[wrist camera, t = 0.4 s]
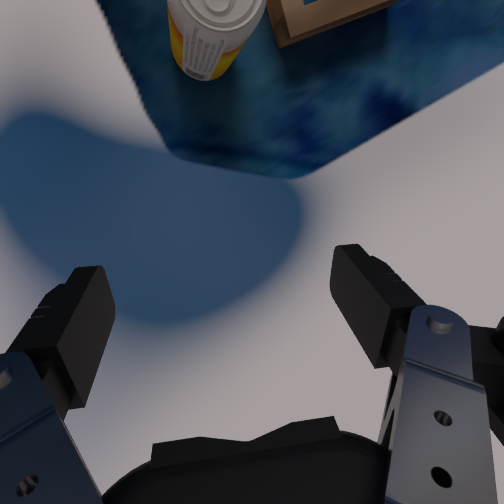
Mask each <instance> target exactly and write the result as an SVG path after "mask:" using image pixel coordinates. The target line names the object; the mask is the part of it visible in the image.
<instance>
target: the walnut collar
mask: <svg viewBox="0 0 504 504" xmlns="http://www.w3.org/2000/svg"><path fill="white" fill-rule="evenodd" d="M396 1H398V0H318V1H315V2H312V3H310V4H307V5H304V3H303V0H267V1H266V7H267V11H268V15H269V18H270V22H271V25H272V29H273V33H274V36H275V40H276V43H277V47H278V49H280V48H283V47H286V46H288V45H291V44H293V43H296V42H299V41H301V40H304V39H306V38H309V37H311V36H314V35H317V34H319V33H322V32H324V31H327V30H330V29H332V28H335V27H337V26H340V25H342V24H345V23H348V22H350V21H353V20H355V19H358V18H361V17H363V16H366V15H368V14H371V13H373V12H376V11H379V10H381V9H384V8H386V7H389V6H390V5H392V4H393V3H395V2H396Z"/></svg>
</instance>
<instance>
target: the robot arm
mask: <svg viewBox="0 0 504 504" xmlns="http://www.w3.org/2000/svg"><path fill="white" fill-rule="evenodd" d="M330 291H331V295H332V297H333V299H334V301H335V303H336V304H337V306H338V308H339V309H340V311H341V313H342V314H343V316H344V318H345V319H346V321H347V323H348V324H349V326H350V328H351V329H352V331H353V333H354V335H355V336H356V338H357V339H358V341H359V343H360V345H361V346H362V348H363V350H364V351H365V353H366V355H367V356H368V358H369V360H370V361H371V363H372V365H373V366H374V368H375V369H376V368H382V367H383V368H384V367H390V369H391V370H392V376H391V379H390V384H389V389H388V394H387V399H386V404H385V409H384V414H383V419H382V424H381V429H380V434H379V437H378V441H377V442H374V441H372V440H370V439H368V438H366V437H363V436H361V435H357V434H354V433H350V432H346V431H340V430H339V428H338V426H337V423H336V421H335V418H334V416H330V417H324V418H317V419H311V420H304V421H298V422H291V423H289V424H287V425H285V426H283V427H280V428H278V429H276V430H274V431H271V432H270V433H267V434H265V435H263V436H260V437H258V438H256V439H254V440H251V441H235V440H226V439H217V438H207V437H194V438H188V439H181V440H175V441H168V442H162V443H155V444H153V446H152V454H151V460H150V461H148V462H146V463H144V464H142V465H140V466H139V467H137V468H135V469H133V470H132V471H130V472H129V473H127V474H126V475H125V476H123V477H122V478H121V479H119V480H118V481H117V482H116V483H115V484H114V485H113V486H111V487H110V488H109V489H108V490H107V491H106V492H105V493H104V494H103V495H101V493H100V491H99V489H98V487H97V485H96V484H95V481H94V480H93V478H92V476H91V474H90V472H89V470H88V468H87V466H86V464H85V462H84V460H83V458H82V456H81V454H80V453H79V450H78V448H77V446H76V445H75V443H74V441H73V439H72V437H71V435H70V433H69V431H68V429H67V427H66V425H65V423H64V419H65V416H66V414H67V411H68V410H69V409H76V408H84V407H85V405H86V402H87V399H88V396H89V393H90V390H91V387H92V384H93V382H94V379H95V376H96V373H97V370H98V367H99V364H100V361H101V358H102V355H103V352H104V349H105V346H106V344H107V341H108V338H109V335H110V332H111V329H112V326H113V323H114V320H115V304H114V300H113V297H112V293H111V290H110V287H109V283H108V280H107V277H106V273H105V270H104V268H103V267H102V266H101V265H99V266H88V267H77V268H75V269H74V271H73V272H72V274H71V275H70V277H69V278H68V280H67V282H66V283H65V284H59V285H58V286H56V287H55V288H54V289H52V290H51V291H50V292H48V293H47V294H46V295H45V296H44V298H43V299H42V301H41V302H40V304H39V305H38V308H37V309H35V311H34V312H33V314H32V315H31V318H30V319H28V321H27V322H26V324H25V325H24V327H23V328H22V329H21V331H20V332H19V334H18V335H17V337H16V338H15V340H14V341H13V343H12V344H11V345H10V347H9V348H8V350H7V351H6V353H3V354H0V504H498V501H497V492H496V483H495V473H494V464H493V454H492V445H491V435H490V429H491V430H492V431H493V433H494V434H495V435H496V437H497V438H498V439H499V441H500V442H501V443H502V445H503V446H504V317H502V319H501V320H500V322H499V324H498V326H497V328H488V327H479V326H471V325H468V324H467V323H466V321H465V320H464V319H463V318H462V317H460V316H459V315H458V314H456V313H455V312H453V311H451V310H448V309H446V308H443V307H440V306H435V305H427V304H426V303H425V302H424V301H423V300H422V299H421V298H420V297H419V296H418V295H417V294H416V293H415V292H414V291H413V290H412V289H411V288H410V287H409V286H408V285H407V284H406V283H405V282H404V281H402V279H401V278H400V277H399V276H398V275H397V274H396V273H395V272H394V271H393V270H392V269H391V267H390V266H388V265H387V263H385V262H383V261H382V260H380V259H378V258H376V257H374V256H369V255H368V254H367V253H366V252H365V251H364V249H363V248H362V247H361V246H360V245H359V244H349V245H338V246H336V247H335V249H334V255H333V261H332V268H331V276H330Z"/></svg>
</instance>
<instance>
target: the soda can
mask: <svg viewBox="0 0 504 504" xmlns="http://www.w3.org/2000/svg"><path fill="white" fill-rule="evenodd" d="M266 1H267V0H167V6H168V17H169V28H170V39H171V48H172V53H173V56H174V58H175V60H176V62H177V64H178V65H179V67H180V68H181V69H182V70H183V71H184V72H185V73H186V74H187V75H189V76H190V77H192V78H194V79H197V80H201V81H210V80H214V79H216V78H218V77H220V76H221V75H223V74H224V73H225V72H226V70H227V69H228V68H229V66H230V65H231V63H232V62H233V60H234V59H235V57H236V56H237V54H238V53H239V51H240V50H241V48H242V47H243V45H244V44H245V42H246V41H247V39H248V38H249V37H250V35H251V34H252V32H253V31H254V29H255V28H256V26H257V25H258V23H259V21H260V20H261V18H262V15H263V13H264V10H265V6H266Z"/></svg>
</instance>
